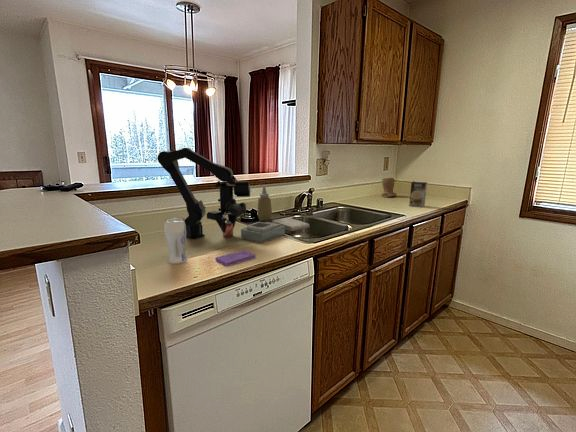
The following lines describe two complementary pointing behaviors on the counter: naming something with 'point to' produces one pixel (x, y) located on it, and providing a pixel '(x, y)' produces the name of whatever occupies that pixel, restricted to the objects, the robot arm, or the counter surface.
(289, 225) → the washcloth
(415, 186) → the coffee box
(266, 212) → the squeeze bottle
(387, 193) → the brown boot
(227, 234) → the spout can
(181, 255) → the beer glass
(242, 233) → the grey piece
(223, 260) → the sponges
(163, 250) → the counter surface
